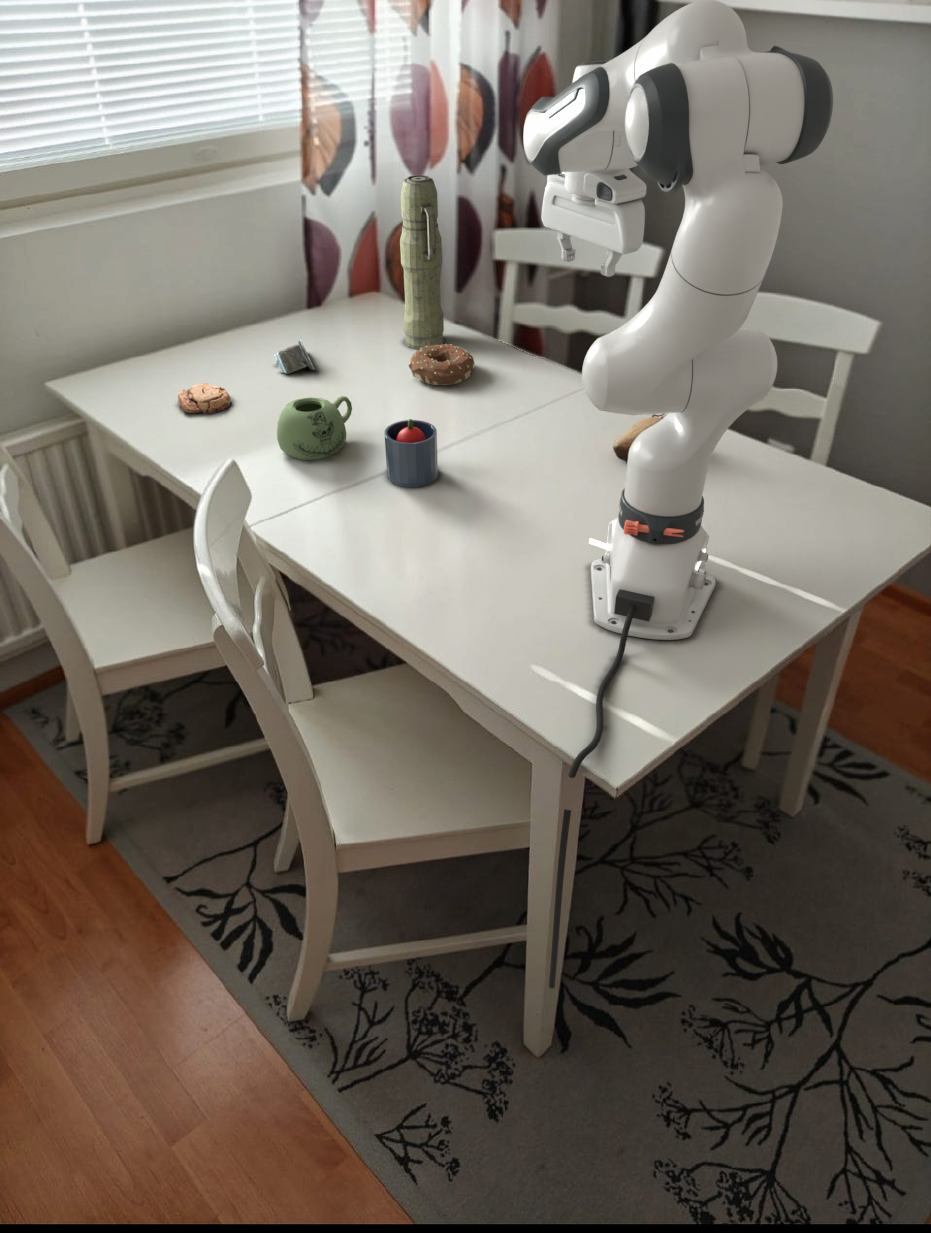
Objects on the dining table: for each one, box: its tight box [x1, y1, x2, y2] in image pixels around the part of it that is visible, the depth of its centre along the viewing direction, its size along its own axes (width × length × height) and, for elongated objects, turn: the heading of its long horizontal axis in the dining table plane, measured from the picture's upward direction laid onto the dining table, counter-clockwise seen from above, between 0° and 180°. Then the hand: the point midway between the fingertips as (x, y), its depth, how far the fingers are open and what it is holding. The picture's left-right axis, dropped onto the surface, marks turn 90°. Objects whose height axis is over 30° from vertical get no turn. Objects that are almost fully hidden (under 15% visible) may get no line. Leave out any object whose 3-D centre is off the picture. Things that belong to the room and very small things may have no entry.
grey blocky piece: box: [274, 337, 316, 375], centre depth 214 cm, size 10×7×12 cm
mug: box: [276, 395, 353, 461], centre depth 184 cm, size 16×13×9 cm
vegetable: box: [612, 413, 668, 461], centre depth 180 cm, size 16×11×10 cm
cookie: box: [177, 382, 232, 414], centre depth 200 cm, size 10×11×3 cm
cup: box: [384, 419, 439, 488], centre depth 175 cm, size 9×9×8 cm
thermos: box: [399, 174, 445, 350], centre depth 215 cm, size 9×12×35 cm
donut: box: [408, 343, 475, 386], centre depth 209 cm, size 14×14×5 cm
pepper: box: [396, 418, 426, 443], centre depth 174 cm, size 5×5×10 cm
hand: (587, 267), depth 162 cm, fingers open, 8 cm apart
